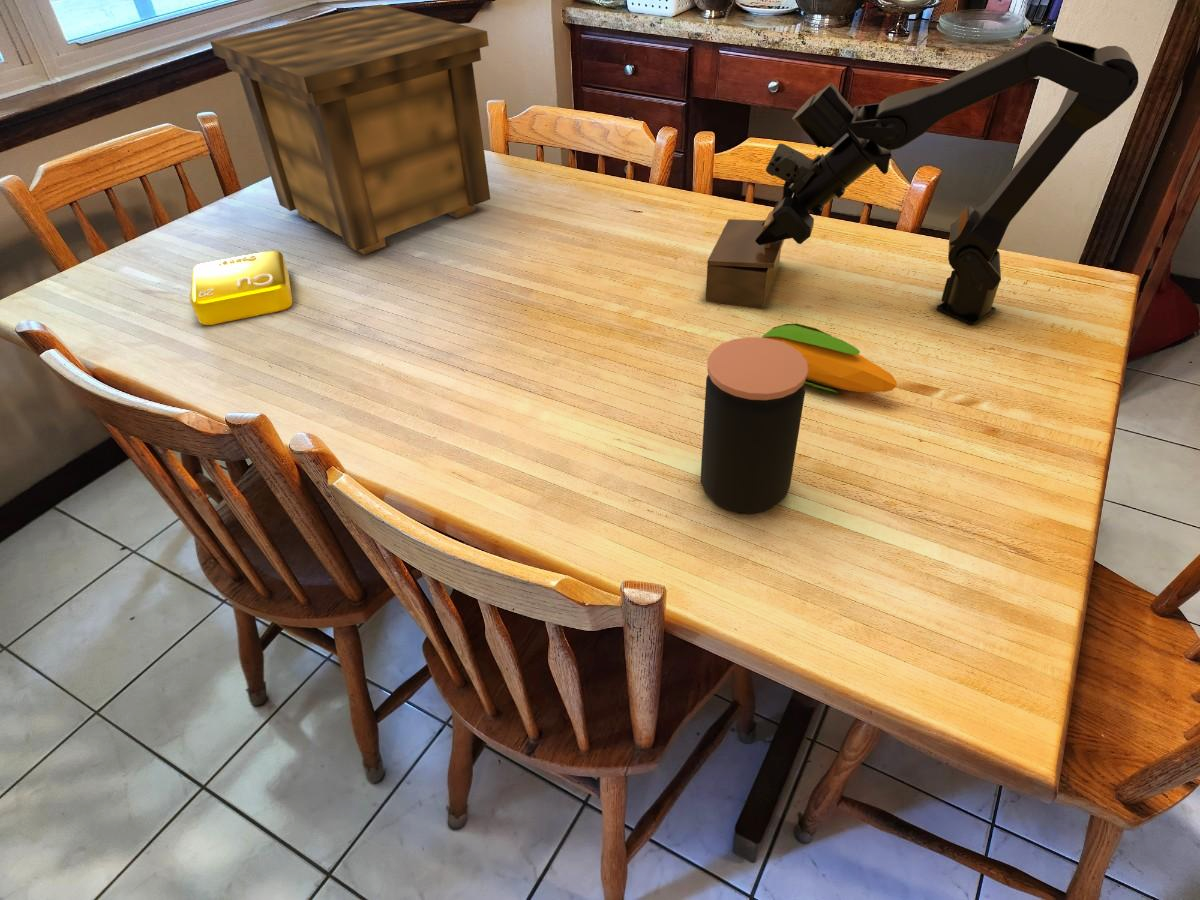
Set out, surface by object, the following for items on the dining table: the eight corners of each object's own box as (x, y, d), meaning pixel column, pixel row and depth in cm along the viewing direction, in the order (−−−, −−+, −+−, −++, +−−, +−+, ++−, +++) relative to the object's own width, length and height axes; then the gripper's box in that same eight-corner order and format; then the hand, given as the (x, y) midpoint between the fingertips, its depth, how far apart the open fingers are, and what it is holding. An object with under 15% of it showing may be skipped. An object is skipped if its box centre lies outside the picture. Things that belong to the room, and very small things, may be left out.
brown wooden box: (779, 264, 138) (783, 229, 134) (762, 309, 127) (766, 273, 123) (726, 257, 140) (728, 223, 136) (705, 301, 129) (707, 265, 125)
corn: (775, 303, 113) (914, 344, 104) (771, 346, 118) (903, 389, 109) (750, 330, 109) (893, 375, 100) (747, 373, 114) (883, 420, 105)
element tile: (288, 269, 143) (280, 245, 140) (293, 309, 133) (285, 283, 130) (200, 286, 140) (190, 262, 137) (199, 328, 129) (188, 302, 126)
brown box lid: (790, 225, 133) (790, 198, 130) (773, 268, 122) (774, 239, 119) (728, 223, 136) (728, 197, 133) (707, 265, 125) (706, 237, 122)
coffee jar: (778, 455, 100) (796, 333, 88) (797, 515, 92) (819, 390, 80) (694, 460, 100) (700, 338, 88) (706, 520, 92) (714, 396, 80)
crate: (267, 216, 162) (210, 40, 140) (412, 166, 179) (380, 4, 158) (355, 271, 142) (303, 77, 121) (508, 209, 159) (487, 31, 138)
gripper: (811, 108, 122) (738, 176, 132) (791, 151, 108) (712, 223, 119) (858, 161, 124) (783, 223, 135) (845, 210, 111) (762, 275, 121)
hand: (760, 234), depth 127 cm, fingers closed on brown box lid, 5 cm apart
